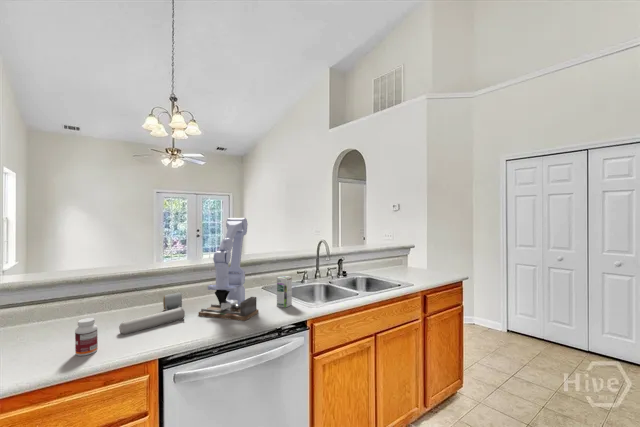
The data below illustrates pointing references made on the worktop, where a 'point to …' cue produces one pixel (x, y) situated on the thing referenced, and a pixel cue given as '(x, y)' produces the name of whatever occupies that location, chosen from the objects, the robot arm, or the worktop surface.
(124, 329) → the tube
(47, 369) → the worktop surface
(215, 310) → the gauge base
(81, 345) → the pill bottle
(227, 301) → the gauge carriage
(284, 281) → the syrup box
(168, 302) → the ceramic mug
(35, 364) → the worktop surface
